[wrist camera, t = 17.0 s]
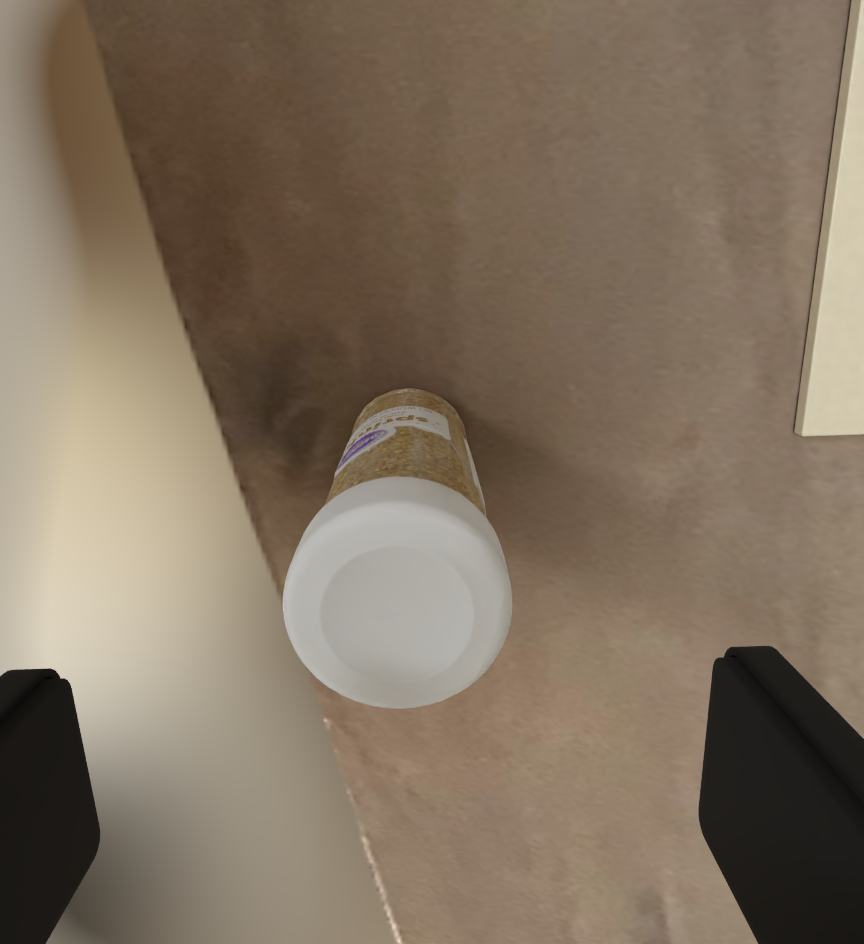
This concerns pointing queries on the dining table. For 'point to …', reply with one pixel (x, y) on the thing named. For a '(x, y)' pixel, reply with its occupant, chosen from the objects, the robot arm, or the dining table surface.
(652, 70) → the dining table surface
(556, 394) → the dining table surface
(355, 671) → the sprinkles bottle
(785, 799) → the robot arm
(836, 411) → the beige flat square board
